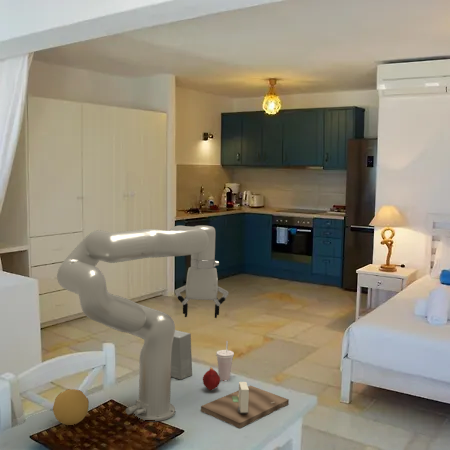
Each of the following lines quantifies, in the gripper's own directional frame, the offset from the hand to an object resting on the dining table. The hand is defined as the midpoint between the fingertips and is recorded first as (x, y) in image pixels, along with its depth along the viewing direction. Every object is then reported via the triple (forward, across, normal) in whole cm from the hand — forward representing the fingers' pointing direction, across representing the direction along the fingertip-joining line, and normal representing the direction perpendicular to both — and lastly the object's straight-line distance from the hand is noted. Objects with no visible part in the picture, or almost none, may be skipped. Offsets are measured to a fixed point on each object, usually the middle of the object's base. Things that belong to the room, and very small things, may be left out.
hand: (200, 316), depth 177 cm
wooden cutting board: (+27, -15, +7) cm, 32 cm away
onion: (+27, -4, -6) cm, 28 cm away
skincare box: (+27, +8, -19) cm, 35 cm away
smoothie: (+27, -9, -17) cm, 33 cm away
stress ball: (+28, +36, +20) cm, 50 cm away
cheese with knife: (+25, -14, +10) cm, 30 cm away
